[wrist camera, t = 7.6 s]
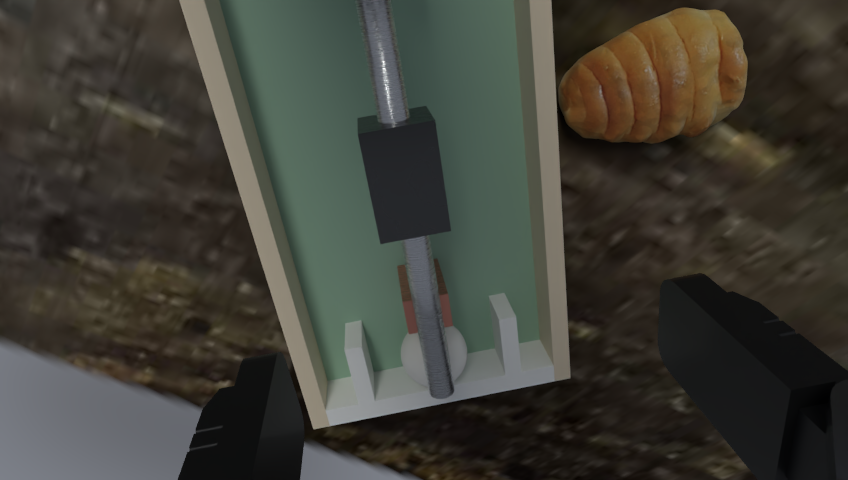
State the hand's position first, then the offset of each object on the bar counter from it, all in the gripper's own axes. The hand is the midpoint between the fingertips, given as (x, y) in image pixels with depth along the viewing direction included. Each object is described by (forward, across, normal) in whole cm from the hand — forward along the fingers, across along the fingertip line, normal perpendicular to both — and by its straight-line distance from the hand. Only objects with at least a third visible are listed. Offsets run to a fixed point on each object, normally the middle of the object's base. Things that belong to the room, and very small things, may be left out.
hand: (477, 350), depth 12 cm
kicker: (+19, 0, +1) cm, 19 cm away
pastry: (+21, -14, 0) cm, 26 cm away
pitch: (+21, 0, +3) cm, 21 cm away
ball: (+18, 0, +13) cm, 22 cm away
